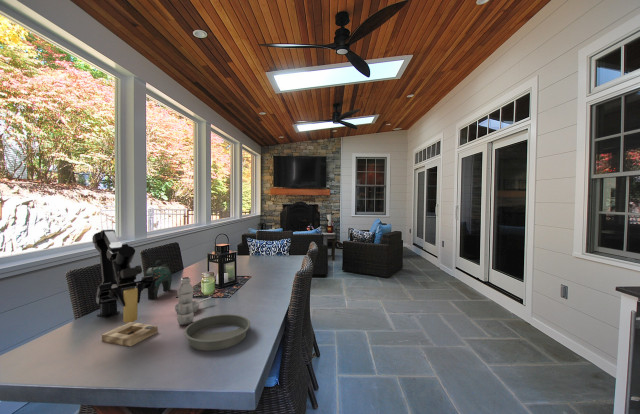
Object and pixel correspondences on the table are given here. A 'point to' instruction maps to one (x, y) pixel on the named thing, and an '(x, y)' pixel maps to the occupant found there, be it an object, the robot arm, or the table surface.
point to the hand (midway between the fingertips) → (131, 304)
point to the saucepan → (194, 304)
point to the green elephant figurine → (159, 280)
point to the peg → (130, 305)
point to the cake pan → (220, 338)
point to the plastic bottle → (185, 302)
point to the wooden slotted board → (128, 340)
